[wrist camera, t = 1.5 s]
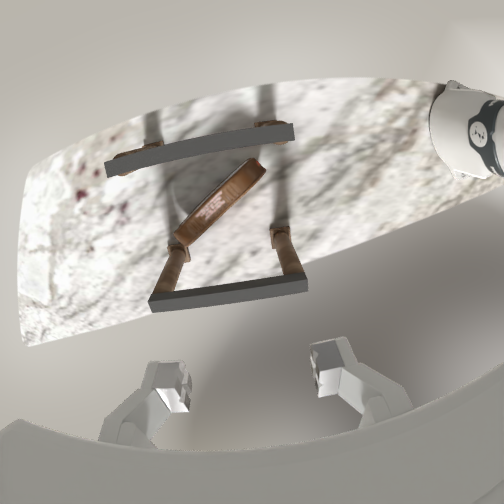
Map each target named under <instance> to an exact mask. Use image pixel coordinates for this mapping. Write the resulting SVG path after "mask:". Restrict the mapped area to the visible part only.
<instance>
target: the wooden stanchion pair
mask: <svg viewBox="0 0 504 504" xmlns="http://www.w3.org/2000/svg"><path fill="white" fill-rule="evenodd" d="M280 124H287V123H286V122H284V121H277V120H272V121H264V122H256V123H254V125H255V127H263V126H271V125H280ZM287 142H288V141H284V142H276V143H274V144H277V145H282V144H285V143H287ZM162 145H164V143H163V141H159V142H155V143H151V144H148V145H144V146H142V148H139V149H135V150H131V151H127V152H124V153H120V154H117V155H116V156H115V157H114V158H113V159H116V158H120V157H123V156H126V155H129V154H133V153H136V152H140V151H143V150H147V149H151V148H155V147H158V146H162ZM137 170H138V169H137ZM134 171H136V170H133V171H130V172H126V173H123V174H119V175H118V176H125V175H127V174H129V173H131V172H134ZM270 236H271V244H272V249H276V251H277V254H278V257H279V261H280V264H281V267H282V271H283V274H284V275H288V274H294V273H300V272H304V270H303V268H302V265H301V263H300V261H299V258H298V256H297V254H296V252H295V249H294V247H293V245H292V243H291V234H290V227H289V226H287V227H280V228H273V229H270ZM167 249H168V252H169V258H168V260H167V262H166V265H165V267H164V269H163V271H162V273H161V275H160V277H159V280H158V282H157V284H156V286H155V288H154V291H153V293H152V294H156V293H164V292H172V291H174V289H175V286H176V283H177V280H178V278H179V275H180V272H181V269H182V266H183V264H184V263H186V262H190V260H191V259H190V255H189V251H188V248H185V247H184V246H183V245H182V244H181V243H180V244H175V245H169V246H168V247H167Z"/></svg>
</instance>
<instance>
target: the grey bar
mask: <svg viewBox="0 0 504 504" xmlns="http://www.w3.org/2000/svg"><path fill="white" fill-rule="evenodd" d="M294 140H295V137H294V129H293V123H290V124H280V125H271V126H263V127H255V128H248V129H242V130H235V131H229V132H223V133H218V134H212V135H207V136H202V137H197V138H192V139H188V140H183V141H179V142H175V143H170V144H166V145H162V146H158V147H155V148H151V149H147V150H143V151H140V152H136V153H133V154H129V155H126V156H123V157H120V158H116V159H113V160H110V161H107V162H104V165H105V170H106V174H107V178H109V177H112V176H116V175H119V174H123V173H126V172H130V171H133V170H137V169H141V168H144V167H148V166H152V165H156V164H160V163H164V162H169V161H173V160H177V159H182V158H186V157H191V156H196V155H201V154H206V153H211V152H217V151H222V150H228V149H234V148H240V147H246V146H253V145H260V144H268V143H276V142H284V141H294Z"/></svg>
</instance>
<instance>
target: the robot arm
mask: <svg viewBox="0 0 504 504" xmlns="http://www.w3.org/2000/svg"><path fill="white" fill-rule="evenodd" d="M457 88H458V89H457ZM430 133H431V138H432V142H433V145H434V147H435V150H436V152H437V153H438V155H439V157H440V158H441V159H442V160H443V161H444V162H445V163H446V164H447V165H448V167H449V168H450V171H451V173H452V176H453V177H454V179H457V180H462V179H464V178H467V177H470V176H475V177H478V178H482V179H486V177H489V176H491V175H493V174H496V175H498V176H499V177H502V178H504V100H496V97H495V96H492V95H488V94H487V93H486V92H483V91H481V90H471V89H469V88H467V87H465V86H463V85H462V84H460V83H458V82H456V81H452V80H450V81H448V83H447V85H446V88H445V90H444V92H443V93H442V94H440V95H439V96H438V97H437V98H436V100H435V102H434V103H433V106H432V109H431V113H430ZM310 352H311V356H310V364H311V371H312V375H313V377H314V378H315V386H316V390H317V394H318V397H323V396H328V395H333V394H338V395H339V396H341V397H342V398H343V399H344V400H345V401H347V402H348V403H349V404H350V405H351V406H353V407H354V408H355V409H356V410H357V411H359V412H360V413H361V414H362V415H363V417H362V419H361V422H360V425H359V427H358V429H356V430H352V431H348V432H345V433H341V434H337V435H333V436H328V437H324V438H319V439H314V440H309V441H304V442H298V443H293V444H286V445H279V446H271V447H263V448H254V449H241V450H222V451H180V450H162V449H158V448H157V447H156V446H155V445H154V444H153V443H152V442H151V441H150V440H151V439H152V437H153V436H154V435H155V434H156V432H157V431H158V430H159V429H160V427H161V426H162V424H163V423H164V422H165V421H166V420H167V418H168V417H169V416H170V414H171V412H189V407H190V398H189V396H188V395H189V394H190V393H191V391H192V380H191V376H190V374H189V372H188V371H186V370H185V364H184V362H183V361H182V360H168V361H150V362H149V363H148V365H147V368H146V372H145V375H144V379H143V382H142V385H141V389H137V390H136V391H135V392H134V393H133V394H132V395H130V396H129V397H128V398H127V399H126V400H125V401H124V402H123V403H122V404H120V405H119V406H118V407H117V408H116V409H115V410H114V411H113V412H112V413H111V414H110V415H108V416H107V417H106V418H105V419H104V423H103V426H102V429H101V432H100V436H99V439H98V441H96V440H92V439H87V438H82V437H78V436H74V435H70V434H67V433H63V432H60V431H56V430H53V429H50V428H46V427H43V426H40V425H37V424H34V423H32V422H29V421H26V420H23V419H18V420H16V421H14V422H12V423H11V424H9V425H8V426H6V427H5V428H4V429H2V430H1V431H0V504H504V362H503V363H501V364H499V365H497V366H496V367H494V368H493V369H491V370H490V371H488V372H486V373H485V374H483V375H482V376H480V377H478V378H476V379H475V380H473V381H471V382H470V383H468V384H466V385H464V386H462V387H461V388H458V389H457V390H455V391H453V392H451V393H449V394H447V395H445V396H443V397H441V398H438V399H436V400H434V401H432V402H430V403H428V404H425V405H423V406H421V407H418V408H416V409H414V408H413V406H412V404H411V402H410V400H409V397H408V395H407V393H406V391H405V390H404V388H403V386H401V385H399V384H397V383H396V382H394V381H392V380H390V379H389V378H387V377H385V376H383V375H382V374H380V373H378V372H376V371H375V370H373V369H372V368H370V367H368V366H366V365H365V364H363V363H358V362H357V360H356V358H355V355H354V353H353V351H352V349H351V346H350V344H349V342H348V340H347V338H346V337H345V336H343V337H339V338H335V339H330V340H325V341H321V342H316V343H311V344H310Z"/></svg>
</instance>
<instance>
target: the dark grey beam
mask: <svg viewBox="0 0 504 504" xmlns="http://www.w3.org/2000/svg"><path fill="white" fill-rule="evenodd" d="M307 291H308V280H307V277H306V275H305V272H300V273H294V274H288V275H283V276H276V277H269V278H263V279H257V280H250V281H243V282H237V283H230V284H223V285H216V286H209V287H202V288H194V289H187V290H179V291H172V292H164V293H156V294H151V296H150V298H149V300H148V304H149V306H150V309H151V311H152V313H156V312H165V311H174V310H183V309H192V308H200V307H208V306H216V305H224V304H231V303H238V302H244V301H252V300H258V299H265V298H271V297H277V296H284V295H289V294H295V293H301V292H307Z"/></svg>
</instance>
